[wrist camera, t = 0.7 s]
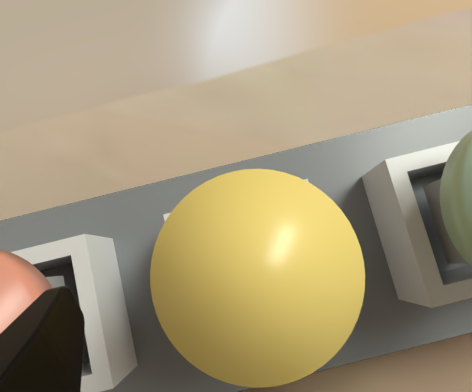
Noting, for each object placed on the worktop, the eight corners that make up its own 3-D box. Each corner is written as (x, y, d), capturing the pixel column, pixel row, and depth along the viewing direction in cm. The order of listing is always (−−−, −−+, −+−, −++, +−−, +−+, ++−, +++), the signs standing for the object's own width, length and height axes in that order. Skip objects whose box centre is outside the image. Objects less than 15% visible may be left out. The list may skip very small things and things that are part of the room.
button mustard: (346, 326, 14) (392, 357, 9) (198, 363, 14) (175, 412, 9) (305, 181, 15) (330, 147, 10) (166, 215, 15) (131, 196, 10)
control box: (528, 292, 20) (675, 309, 13) (15, 422, 20) (-109, 509, 13) (468, 123, 22) (573, 59, 15) (-12, 242, 21) (-136, 233, 14)
